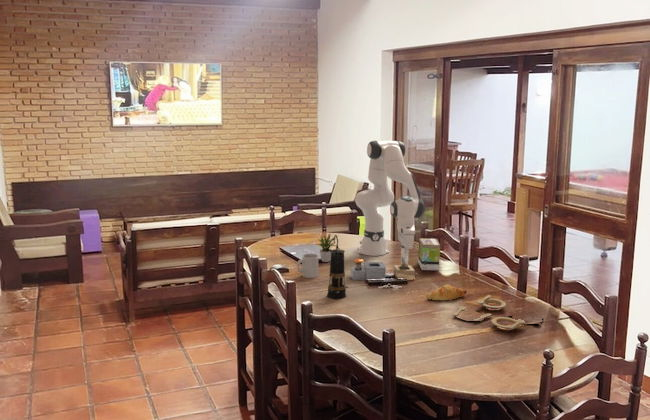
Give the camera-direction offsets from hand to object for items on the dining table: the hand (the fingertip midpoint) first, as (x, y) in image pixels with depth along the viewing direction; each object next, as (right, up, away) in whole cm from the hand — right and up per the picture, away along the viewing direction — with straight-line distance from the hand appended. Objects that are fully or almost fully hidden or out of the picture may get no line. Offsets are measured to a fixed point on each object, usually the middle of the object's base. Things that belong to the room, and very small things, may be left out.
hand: (404, 252), depth 321 cm
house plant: (-41, -7, +30) cm, 51 cm away
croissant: (+16, -20, -28) cm, 38 cm away
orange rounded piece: (-25, -12, 0) cm, 28 cm away
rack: (0, -13, +3) cm, 13 cm away
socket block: (-16, -13, +1) cm, 21 cm away
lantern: (-36, -19, -27) cm, 49 cm away
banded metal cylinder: (0, -9, +2) cm, 9 cm away
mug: (-51, -13, +3) cm, 53 cm away
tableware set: (+34, -25, -53) cm, 68 cm away
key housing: (-25, -13, 0) cm, 28 cm away
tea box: (+16, -9, +22) cm, 29 cm away
